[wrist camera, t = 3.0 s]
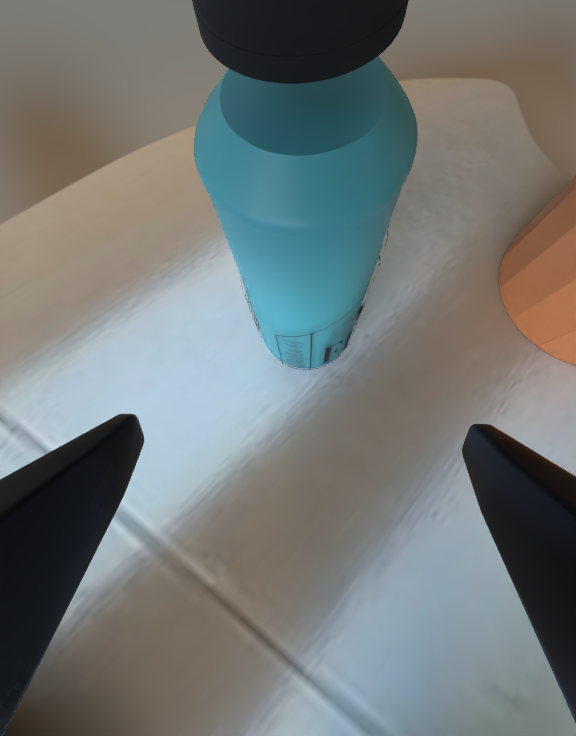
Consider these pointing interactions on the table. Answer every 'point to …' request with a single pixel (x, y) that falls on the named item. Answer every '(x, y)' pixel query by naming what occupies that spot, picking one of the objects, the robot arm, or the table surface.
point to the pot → (545, 277)
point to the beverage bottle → (304, 158)
